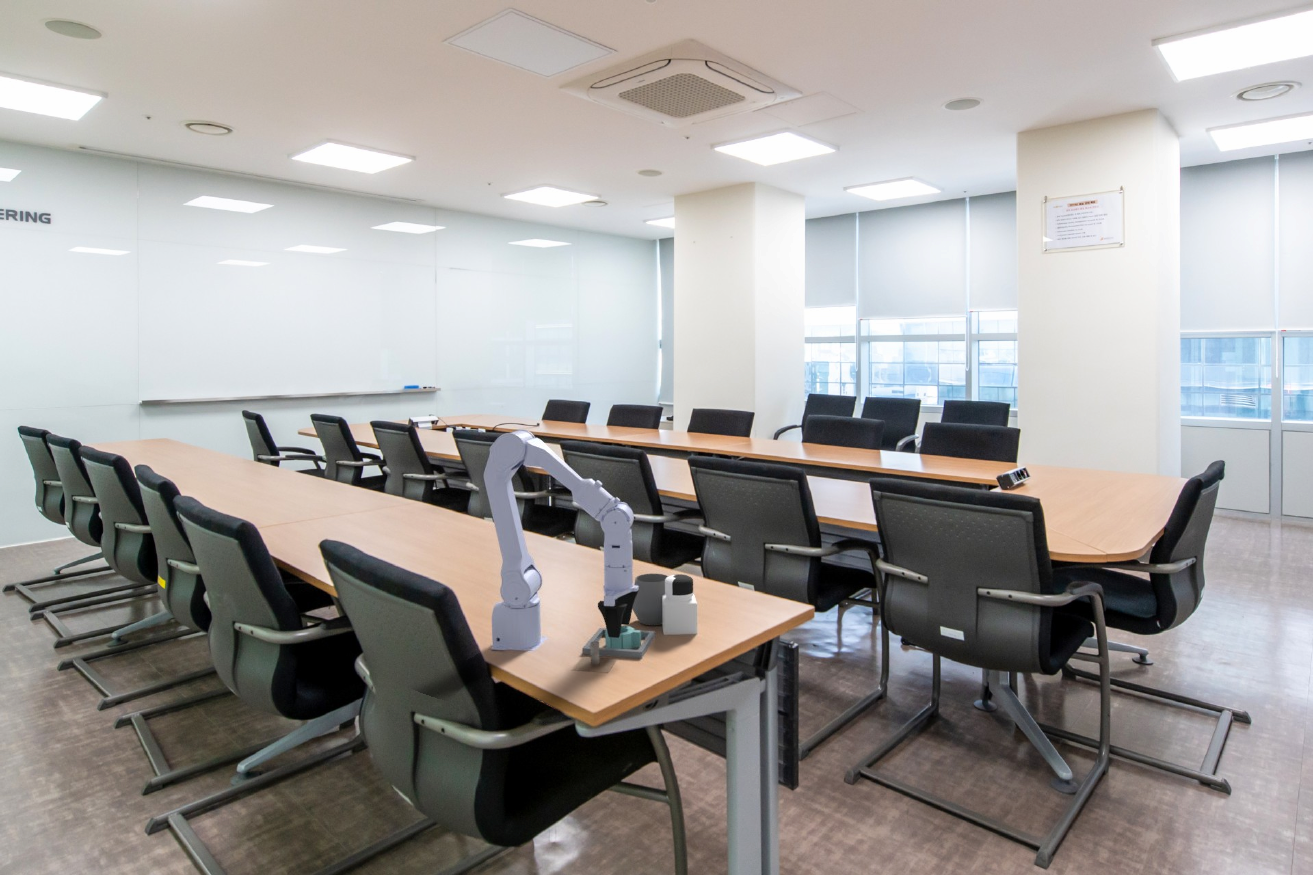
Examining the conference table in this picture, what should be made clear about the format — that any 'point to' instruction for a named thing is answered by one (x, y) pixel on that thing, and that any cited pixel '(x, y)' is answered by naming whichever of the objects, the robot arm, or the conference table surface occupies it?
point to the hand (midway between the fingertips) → (619, 630)
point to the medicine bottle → (679, 606)
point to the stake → (595, 661)
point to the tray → (620, 652)
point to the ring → (624, 639)
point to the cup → (649, 598)
